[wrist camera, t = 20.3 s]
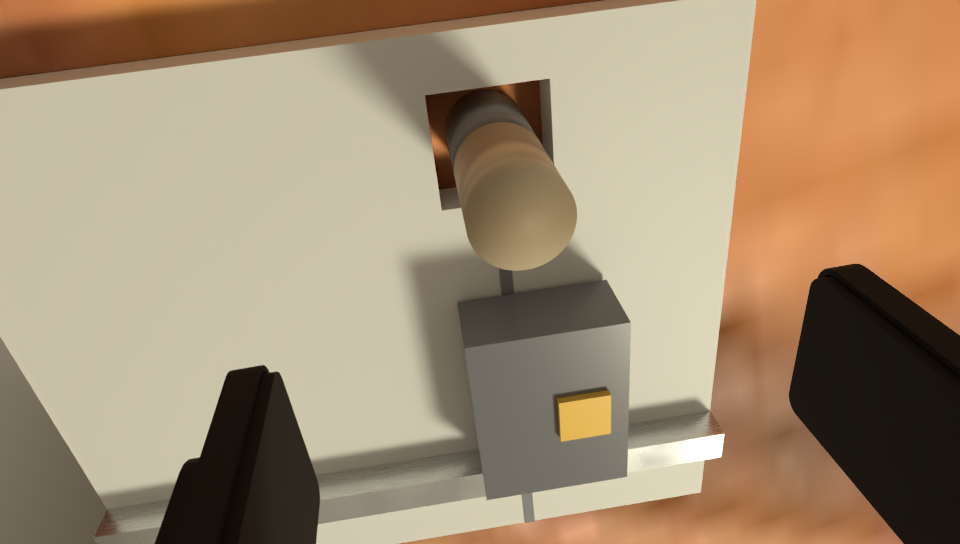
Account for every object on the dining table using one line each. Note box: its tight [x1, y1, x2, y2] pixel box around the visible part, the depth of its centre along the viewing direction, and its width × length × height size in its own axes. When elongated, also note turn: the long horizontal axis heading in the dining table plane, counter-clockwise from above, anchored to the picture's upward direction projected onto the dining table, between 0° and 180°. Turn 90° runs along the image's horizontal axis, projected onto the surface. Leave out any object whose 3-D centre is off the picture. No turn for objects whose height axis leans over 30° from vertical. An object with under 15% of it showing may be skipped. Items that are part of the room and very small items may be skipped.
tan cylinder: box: [445, 90, 577, 271], centre depth 20 cm, size 3×3×8 cm
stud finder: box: [457, 280, 631, 500], centre depth 25 cm, size 8×6×3 cm
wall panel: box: [0, 0, 756, 544], centre depth 26 cm, size 24×28×4 cm
